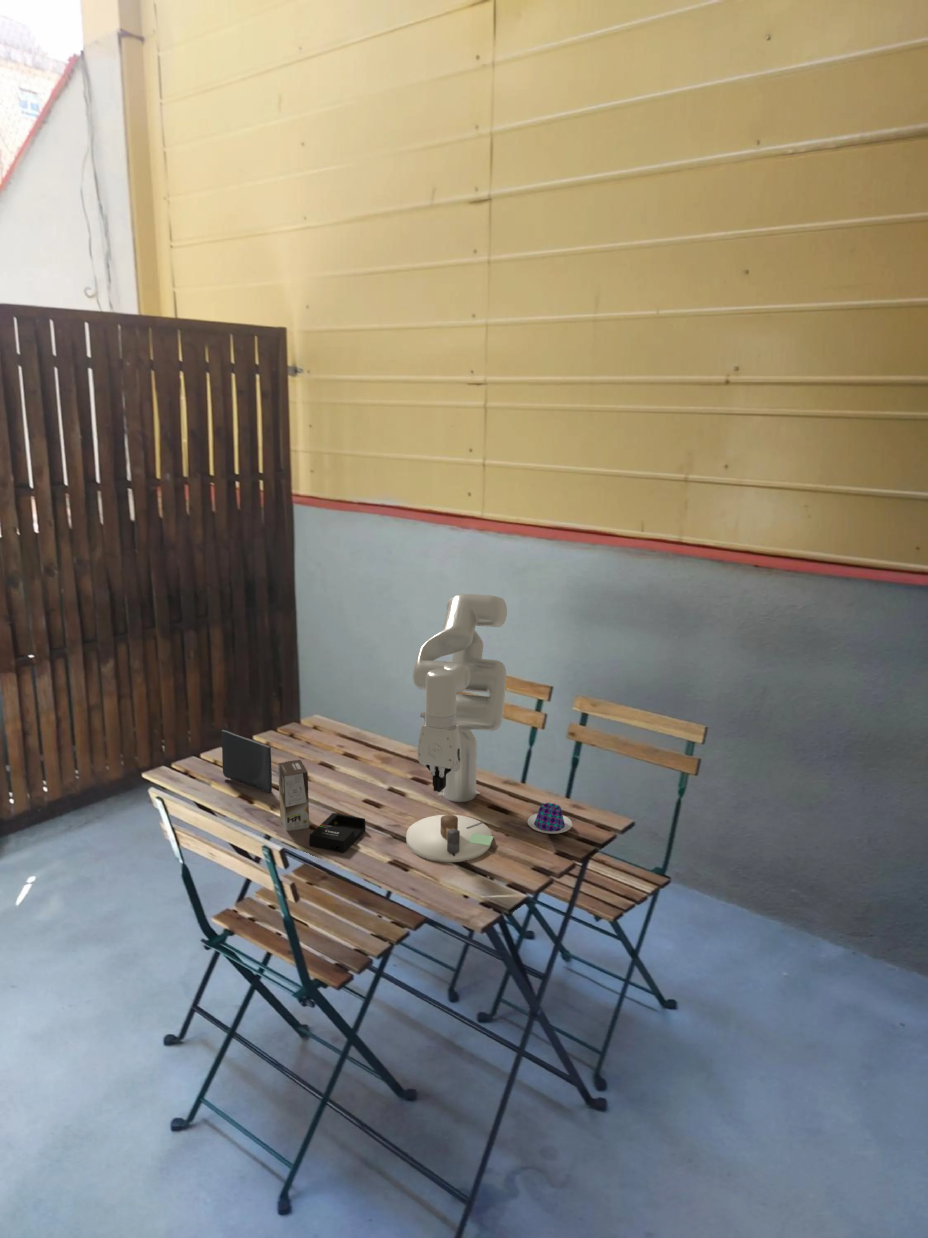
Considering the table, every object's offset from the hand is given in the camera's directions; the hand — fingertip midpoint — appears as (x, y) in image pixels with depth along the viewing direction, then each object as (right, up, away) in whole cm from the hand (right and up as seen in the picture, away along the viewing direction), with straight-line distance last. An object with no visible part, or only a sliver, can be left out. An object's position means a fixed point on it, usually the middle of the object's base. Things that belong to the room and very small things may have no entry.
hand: (439, 789), depth 207 cm
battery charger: (-26, -15, +7) cm, 31 cm away
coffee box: (-39, -12, +14) cm, 43 cm away
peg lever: (+3, -14, +3) cm, 14 cm away
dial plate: (+2, -14, +7) cm, 16 cm away
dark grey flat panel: (-57, -6, +36) cm, 68 cm away
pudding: (+29, -13, +17) cm, 36 cm away
